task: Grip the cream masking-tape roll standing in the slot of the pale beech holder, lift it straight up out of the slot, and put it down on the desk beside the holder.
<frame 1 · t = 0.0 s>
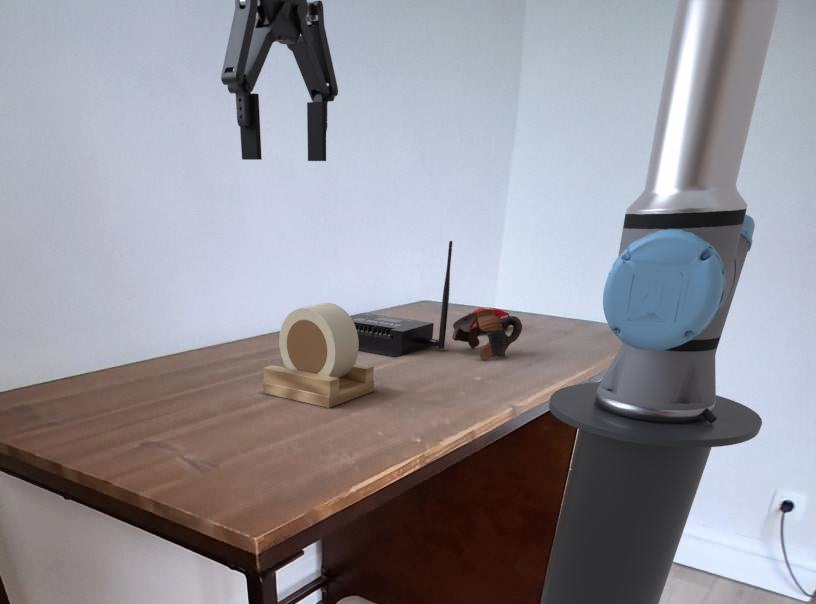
hand: (286, 160, 90), 28 cm above the table, tool pointing down, fingers open, 13 cm apart
tape roll: (318, 381, 97), point 1 cm above the table, touching tape holder
tape holder: (319, 392, 98), on the table
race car: (481, 331, 136), on the table
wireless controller: (389, 346, 124), on the table
pottery mug: (484, 355, 119), on the table
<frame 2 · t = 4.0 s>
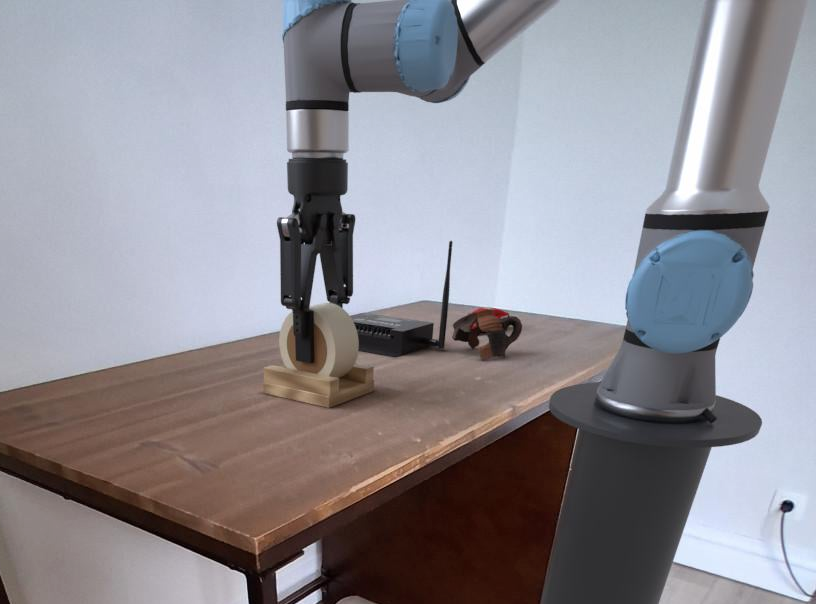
hand: (318, 357, 95), 5 cm above the table, tool pointing down, fingers closed on tape roll, 6 cm apart
tape roll: (319, 381, 97), point 1 cm above the table, touching gripper, tape holder
everything else where it was.
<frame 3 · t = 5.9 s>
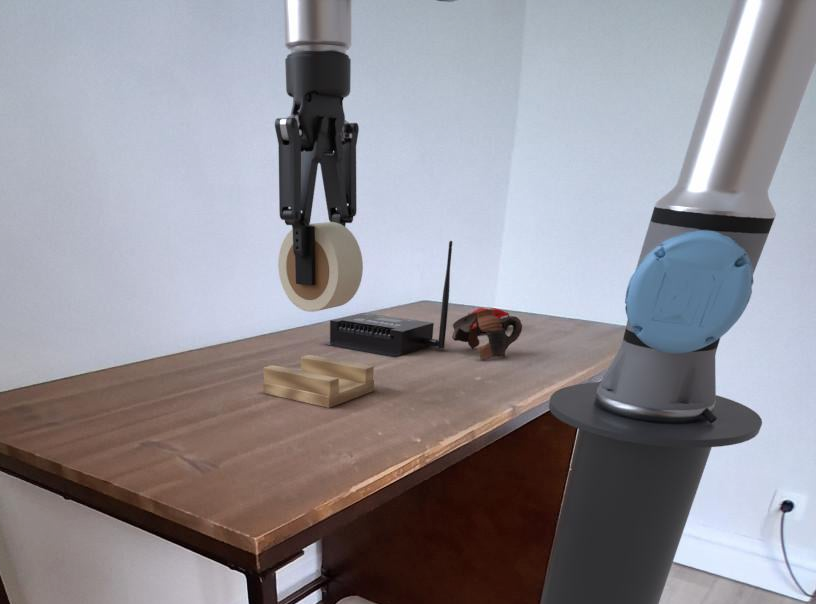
hand: (320, 281, 89), 14 cm above the table, tool pointing down, fingers closed on tape roll, 6 cm apart
tape roll: (320, 308, 91), point 11 cm above the table, touching gripper
everything else where it was.
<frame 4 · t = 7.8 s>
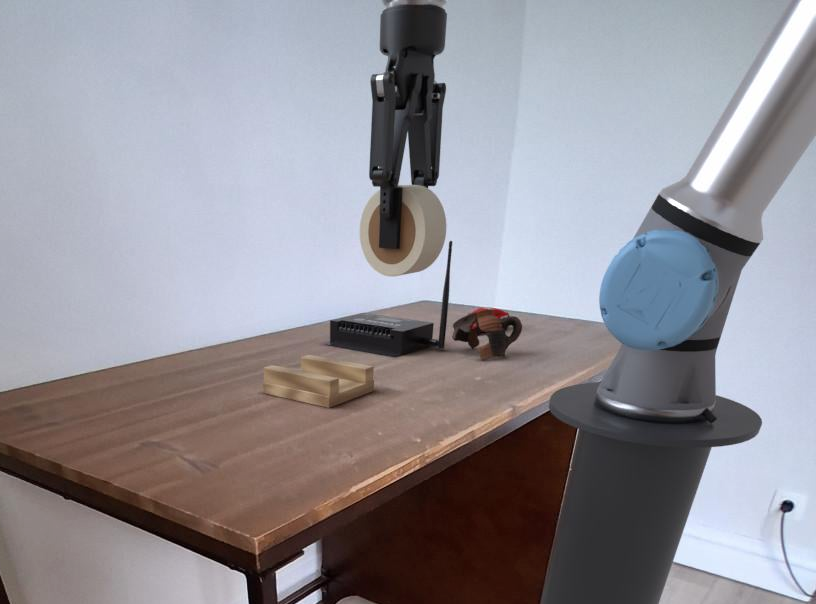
hand: (402, 246, 88), 18 cm above the table, tool pointing down, fingers closed on tape roll, 6 cm apart
tape roll: (400, 274, 90), point 15 cm above the table, touching gripper
everything else where it was.
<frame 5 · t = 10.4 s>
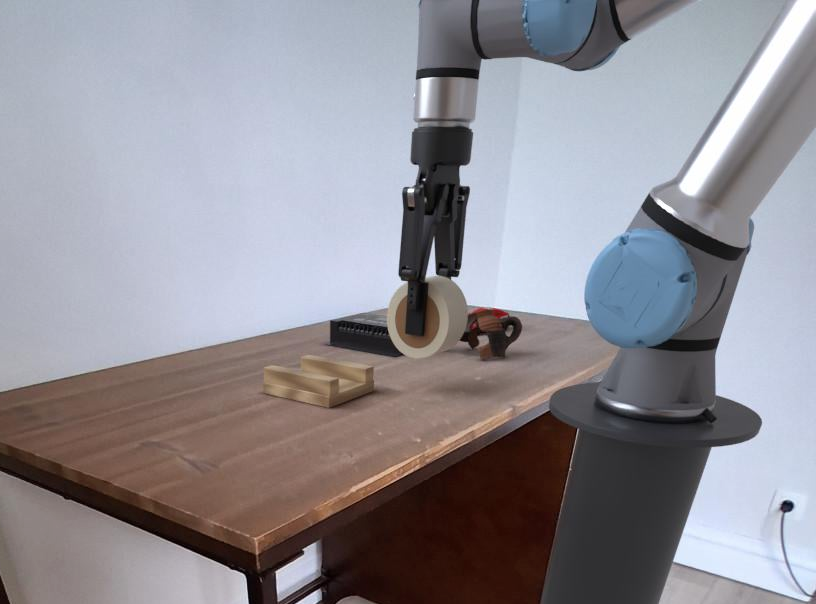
hand: (426, 330, 95), 8 cm above the table, tool pointing down, fingers closed on tape roll, 6 cm apart
tape roll: (423, 355, 97), point 5 cm above the table, touching gripper
everything else where it was.
when the fingers open (3 cm above the table, at t = 11.9 s): tape roll stays where it is, on the table.
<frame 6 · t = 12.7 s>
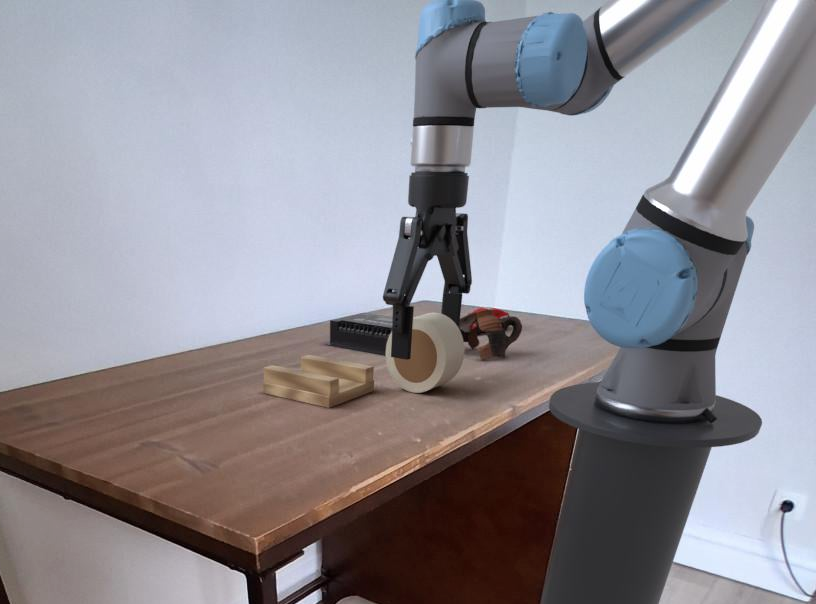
hand: (425, 349, 96), 5 cm above the table, tool pointing down, fingers open, 13 cm apart
tape roll: (421, 388, 100), on the table
everything else where it was.
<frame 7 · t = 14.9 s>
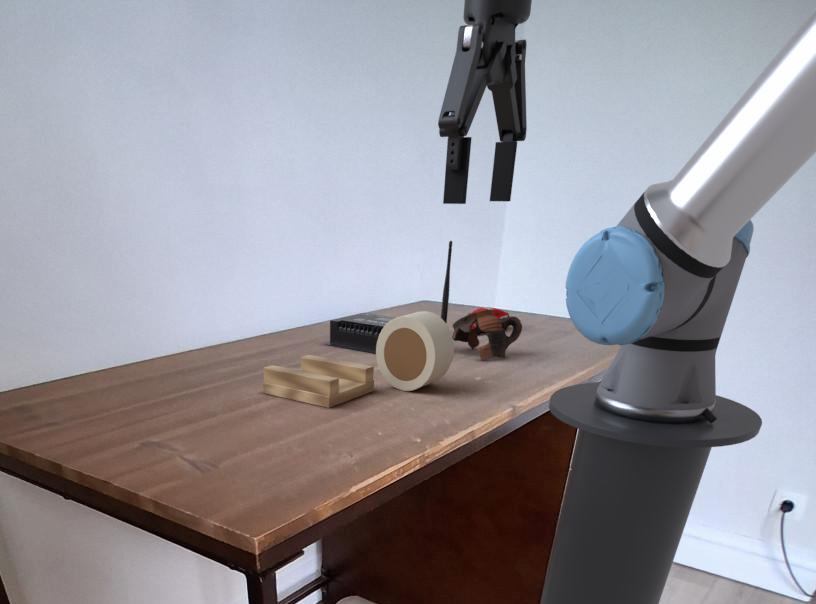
hand: (478, 202, 86), 23 cm above the table, tool pointing down, fingers open, 13 cm apart
tape roll: (421, 386, 100), on the table, tilted 18°
everything else where it was.
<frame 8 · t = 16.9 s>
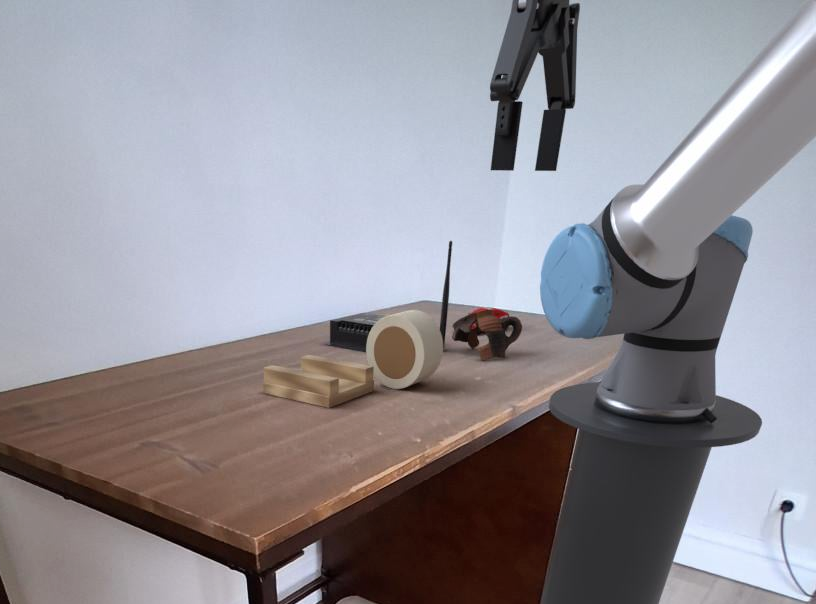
hand: (524, 171, 86), 27 cm above the table, tool pointing down, fingers open, 13 cm apart
tape roll: (420, 380, 99), point 1 cm above the table, tilted 39°
everything else where it was.
at the end: tape roll inside the target area (0.4 cm from its centre), point 1.1 cm above the table; tape roll touching table; tape roll moved 15.3 cm from its start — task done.
